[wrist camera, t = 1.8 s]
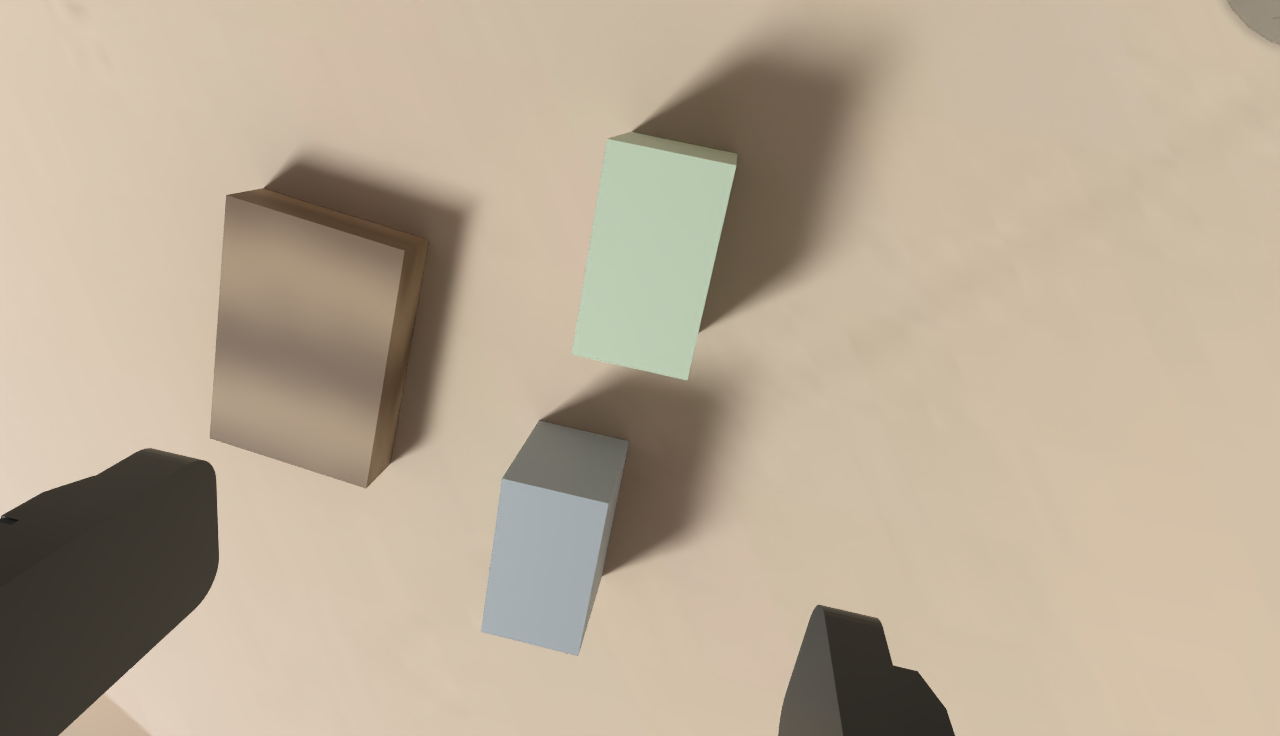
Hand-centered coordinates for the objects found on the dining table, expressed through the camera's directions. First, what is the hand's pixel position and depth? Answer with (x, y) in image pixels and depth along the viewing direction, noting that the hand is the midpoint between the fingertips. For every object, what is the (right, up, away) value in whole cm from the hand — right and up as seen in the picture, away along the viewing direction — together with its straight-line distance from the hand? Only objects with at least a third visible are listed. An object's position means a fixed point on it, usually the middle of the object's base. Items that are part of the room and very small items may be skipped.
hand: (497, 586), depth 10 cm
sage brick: (+3, +9, +23) cm, 24 cm away
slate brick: (-2, -4, +28) cm, 28 cm away
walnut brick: (-13, +5, +27) cm, 30 cm away
